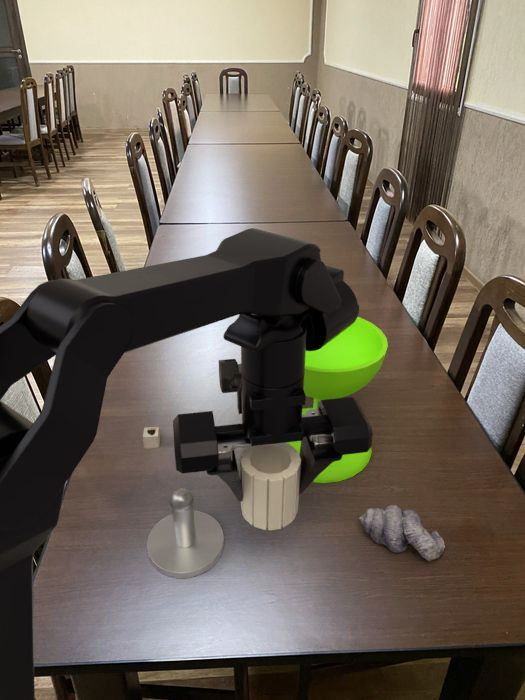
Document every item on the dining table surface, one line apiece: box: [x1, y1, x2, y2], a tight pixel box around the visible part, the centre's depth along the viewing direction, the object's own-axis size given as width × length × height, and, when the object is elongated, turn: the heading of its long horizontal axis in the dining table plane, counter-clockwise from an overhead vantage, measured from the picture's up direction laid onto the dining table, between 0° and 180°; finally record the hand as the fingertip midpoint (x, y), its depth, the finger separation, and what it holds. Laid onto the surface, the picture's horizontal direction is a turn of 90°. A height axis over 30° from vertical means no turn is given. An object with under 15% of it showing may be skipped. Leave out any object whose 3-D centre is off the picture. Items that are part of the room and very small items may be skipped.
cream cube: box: [142, 426, 161, 450], centre depth 79 cm, size 2×2×2 cm
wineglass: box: [286, 316, 389, 484], centre depth 75 cm, size 16×16×18 cm
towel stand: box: [146, 487, 225, 579], centre depth 61 cm, size 9×9×9 cm
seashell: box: [359, 504, 446, 562], centre depth 63 cm, size 5×5×10 cm
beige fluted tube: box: [239, 443, 301, 531], centre depth 56 cm, size 6×6×7 cm
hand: (270, 494), depth 56 cm, fingers closed on beige fluted tube, 6 cm apart
